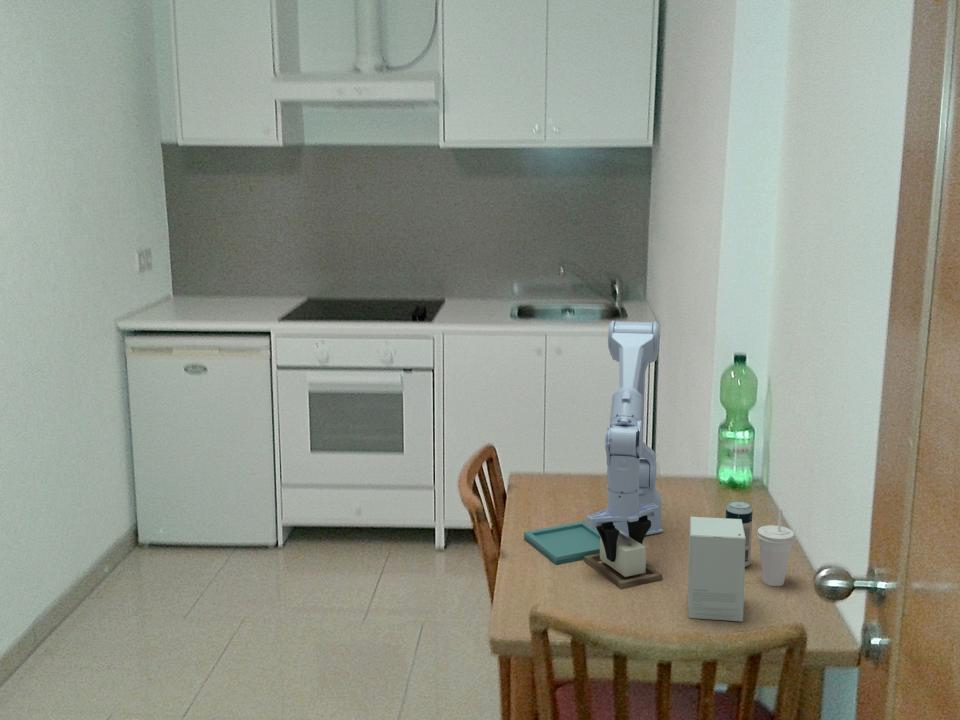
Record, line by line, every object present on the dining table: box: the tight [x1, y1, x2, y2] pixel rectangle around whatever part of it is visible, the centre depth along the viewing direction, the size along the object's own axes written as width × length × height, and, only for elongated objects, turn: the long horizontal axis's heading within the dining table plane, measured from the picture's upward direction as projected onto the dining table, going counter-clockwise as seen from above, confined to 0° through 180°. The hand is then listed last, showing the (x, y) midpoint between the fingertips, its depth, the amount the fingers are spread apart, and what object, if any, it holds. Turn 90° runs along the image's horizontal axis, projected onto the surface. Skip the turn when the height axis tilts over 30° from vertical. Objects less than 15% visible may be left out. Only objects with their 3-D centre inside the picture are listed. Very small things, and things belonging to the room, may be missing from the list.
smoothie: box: [756, 507, 795, 587], centre depth 169 cm, size 6×6×14 cm
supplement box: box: [687, 516, 746, 623], centre depth 159 cm, size 9×9×15 cm
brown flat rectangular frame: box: [583, 553, 663, 589], centre depth 176 cm, size 9×13×1 cm, turn 23°
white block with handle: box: [600, 530, 647, 578], centre depth 175 cm, size 4×9×6 cm, turn 23°
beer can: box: [725, 500, 753, 568], centre depth 177 cm, size 5×5×12 cm
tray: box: [523, 520, 600, 566], centre depth 188 cm, size 14×14×2 cm
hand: (622, 557), depth 175 cm, fingers closed on white block with handle, 4 cm apart
